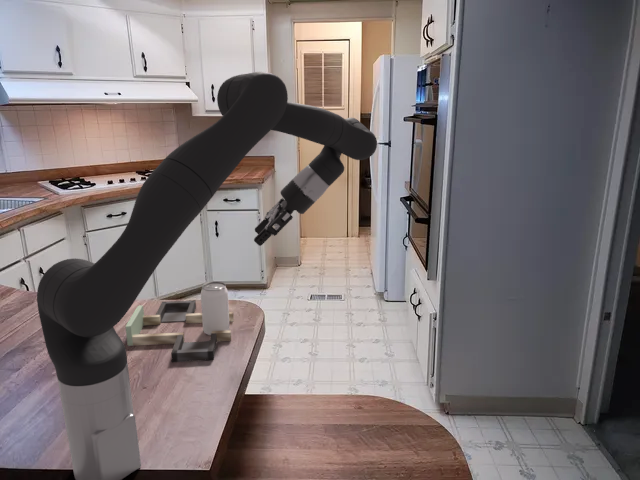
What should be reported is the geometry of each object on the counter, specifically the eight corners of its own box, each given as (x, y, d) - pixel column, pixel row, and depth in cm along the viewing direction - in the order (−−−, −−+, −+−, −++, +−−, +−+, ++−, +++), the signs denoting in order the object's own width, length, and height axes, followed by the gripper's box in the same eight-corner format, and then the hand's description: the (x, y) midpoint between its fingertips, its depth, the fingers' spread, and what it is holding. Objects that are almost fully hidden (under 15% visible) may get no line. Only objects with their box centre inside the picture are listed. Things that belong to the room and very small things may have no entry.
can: (223, 338, 110) (221, 292, 106) (198, 335, 111) (195, 289, 108) (233, 325, 116) (231, 282, 113) (209, 323, 117) (207, 279, 114)
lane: (235, 306, 127) (235, 298, 127) (228, 359, 101) (228, 350, 100) (147, 309, 124) (146, 302, 124) (116, 365, 98) (115, 356, 97)
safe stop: (144, 323, 117) (143, 305, 115) (133, 345, 106) (130, 326, 104) (140, 323, 117) (138, 305, 115) (127, 345, 106) (125, 326, 104)
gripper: (291, 173, 112) (246, 219, 114) (295, 183, 98) (244, 235, 100) (312, 194, 114) (267, 239, 116) (319, 207, 100) (268, 257, 102)
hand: (256, 237), depth 108 cm, fingers open, 8 cm apart
